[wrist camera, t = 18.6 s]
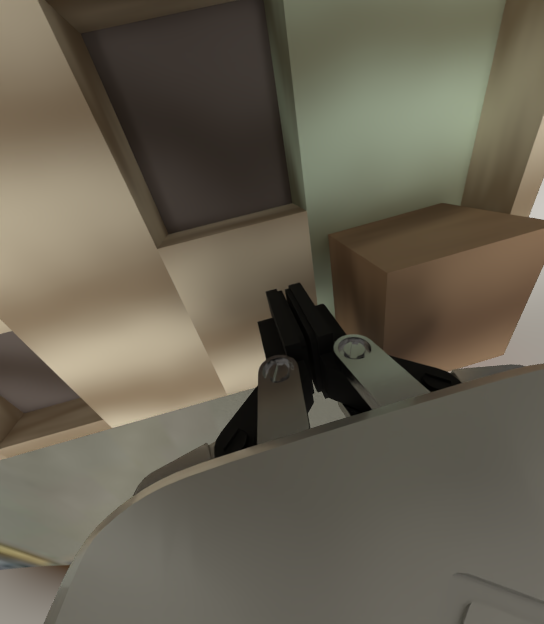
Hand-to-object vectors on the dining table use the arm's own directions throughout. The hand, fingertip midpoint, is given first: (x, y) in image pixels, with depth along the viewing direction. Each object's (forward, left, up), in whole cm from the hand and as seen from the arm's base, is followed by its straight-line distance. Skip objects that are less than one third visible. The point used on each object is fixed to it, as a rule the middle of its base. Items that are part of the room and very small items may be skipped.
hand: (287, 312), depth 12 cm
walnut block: (0, +6, -2) cm, 6 cm away
